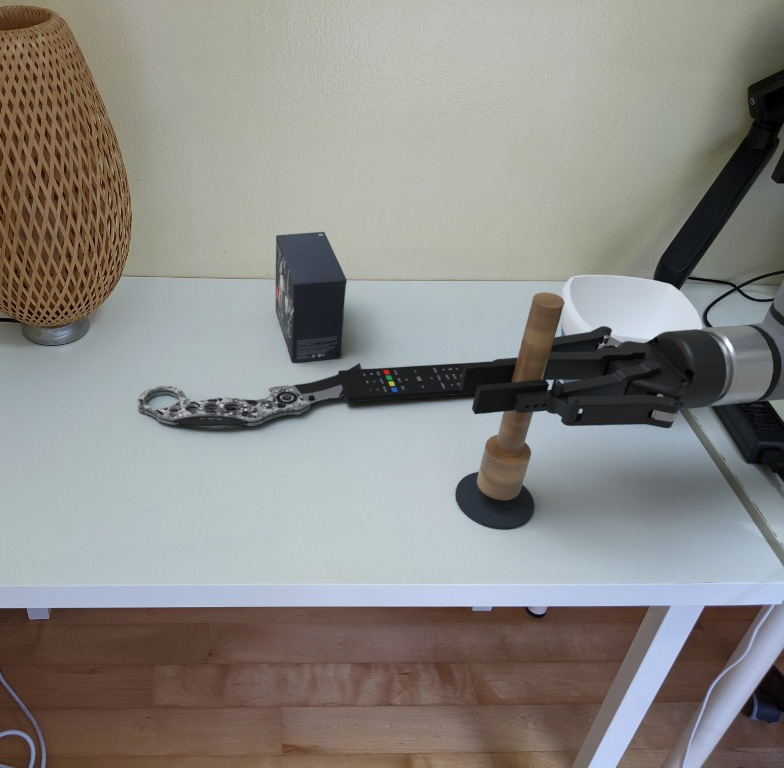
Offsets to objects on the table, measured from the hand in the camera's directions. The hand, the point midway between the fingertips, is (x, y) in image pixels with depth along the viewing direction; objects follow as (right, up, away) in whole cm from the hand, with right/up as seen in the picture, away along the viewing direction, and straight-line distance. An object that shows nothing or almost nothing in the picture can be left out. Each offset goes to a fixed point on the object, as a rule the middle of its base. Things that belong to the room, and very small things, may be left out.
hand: (469, 388), depth 71 cm
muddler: (+5, -10, +9) cm, 14 cm away
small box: (-13, +7, +35) cm, 38 cm away
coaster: (+5, -12, +10) cm, 16 cm away
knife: (-20, -2, +23) cm, 30 cm away
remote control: (+2, 0, +25) cm, 25 cm away
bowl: (+24, +1, +27) cm, 36 cm away
